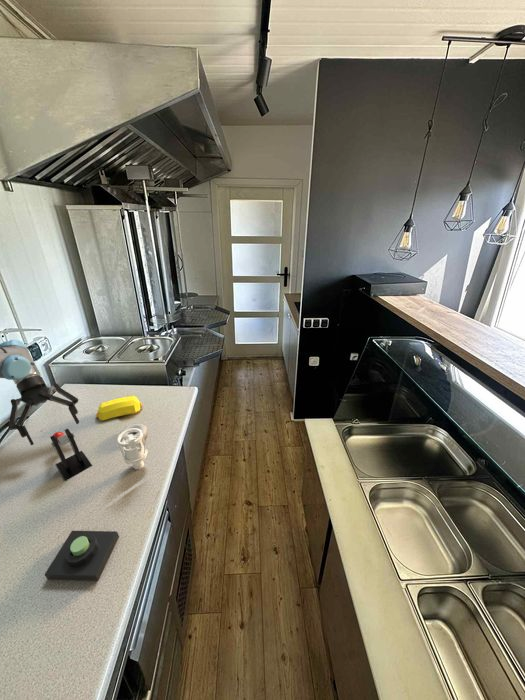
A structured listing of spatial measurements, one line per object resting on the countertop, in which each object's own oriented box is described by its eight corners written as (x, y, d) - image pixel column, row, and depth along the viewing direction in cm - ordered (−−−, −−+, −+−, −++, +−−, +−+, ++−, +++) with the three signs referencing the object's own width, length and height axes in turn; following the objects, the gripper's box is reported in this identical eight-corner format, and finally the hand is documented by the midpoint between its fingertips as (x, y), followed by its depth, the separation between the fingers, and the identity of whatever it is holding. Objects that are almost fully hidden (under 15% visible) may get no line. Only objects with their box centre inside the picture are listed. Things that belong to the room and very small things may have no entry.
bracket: (56, 466, 96) (41, 435, 90) (82, 452, 101) (70, 422, 95) (66, 483, 89) (51, 450, 83) (93, 467, 95) (80, 436, 89)
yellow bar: (97, 414, 120) (96, 425, 114) (93, 401, 117) (91, 411, 111) (143, 403, 127) (144, 413, 120) (139, 390, 124) (140, 399, 117)
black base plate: (47, 579, 66) (41, 570, 64) (74, 535, 75) (69, 526, 73) (98, 581, 65) (93, 571, 64) (119, 536, 74) (115, 526, 73)
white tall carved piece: (131, 480, 90) (119, 444, 83) (125, 466, 95) (114, 431, 88) (153, 469, 94) (144, 434, 87) (147, 456, 99) (137, 422, 92)
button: (69, 556, 67) (66, 551, 66) (78, 540, 70) (76, 535, 69) (83, 556, 67) (81, 552, 66) (92, 540, 70) (90, 536, 69)
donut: (132, 426, 113) (113, 444, 104) (130, 419, 111) (111, 436, 103) (153, 431, 110) (136, 449, 101) (152, 424, 109) (134, 442, 100)
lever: (54, 444, 98) (49, 434, 98) (65, 438, 101) (61, 429, 100) (59, 448, 88) (54, 438, 87) (72, 442, 90) (67, 432, 90)
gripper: (68, 370, 111) (94, 417, 109) (-16, 399, 95) (12, 456, 92) (68, 363, 106) (95, 412, 103) (-21, 392, 89) (8, 451, 87)
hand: (56, 433), depth 98 cm, fingers open, 13 cm apart
